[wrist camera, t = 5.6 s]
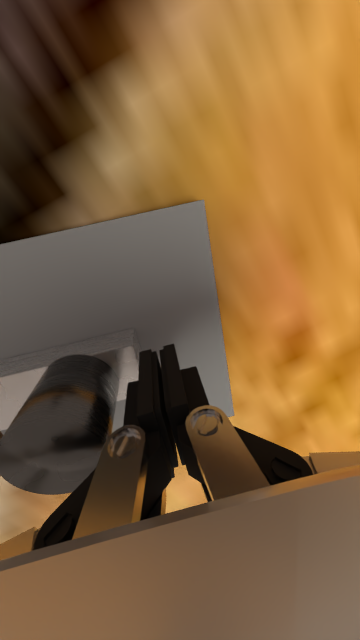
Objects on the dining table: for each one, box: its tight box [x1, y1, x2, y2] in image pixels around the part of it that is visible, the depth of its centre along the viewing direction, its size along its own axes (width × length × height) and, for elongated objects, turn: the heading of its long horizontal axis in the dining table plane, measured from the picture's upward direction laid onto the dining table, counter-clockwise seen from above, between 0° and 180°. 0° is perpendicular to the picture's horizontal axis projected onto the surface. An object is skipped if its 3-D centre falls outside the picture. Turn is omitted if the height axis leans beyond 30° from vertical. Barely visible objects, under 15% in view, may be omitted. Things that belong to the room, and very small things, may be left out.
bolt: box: [0, 328, 141, 495], centre depth 11 cm, size 4×12×6 cm, turn 101°
